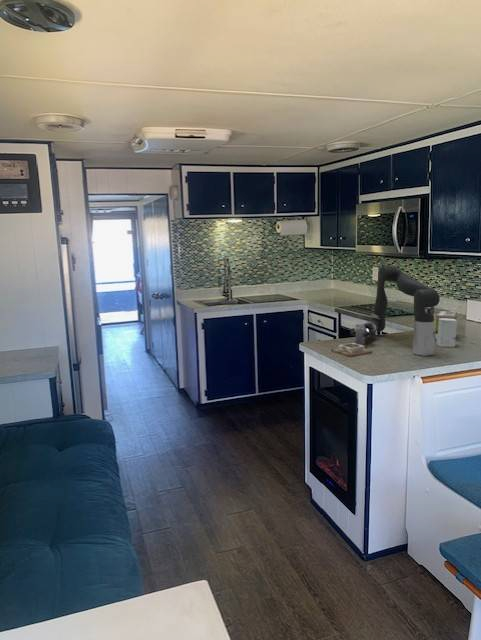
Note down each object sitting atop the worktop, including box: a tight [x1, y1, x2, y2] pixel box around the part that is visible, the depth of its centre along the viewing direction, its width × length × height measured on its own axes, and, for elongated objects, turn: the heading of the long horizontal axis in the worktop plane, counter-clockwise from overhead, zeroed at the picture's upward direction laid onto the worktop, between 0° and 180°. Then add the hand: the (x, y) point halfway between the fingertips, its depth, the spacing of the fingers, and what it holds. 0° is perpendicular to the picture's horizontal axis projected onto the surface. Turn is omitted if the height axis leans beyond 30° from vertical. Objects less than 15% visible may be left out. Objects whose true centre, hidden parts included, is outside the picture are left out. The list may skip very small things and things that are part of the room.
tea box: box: [435, 310, 458, 341], centre depth 277 cm, size 15×10×15 cm, turn 150°
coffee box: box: [425, 306, 435, 317], centre depth 290 cm, size 9×6×16 cm
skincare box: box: [436, 318, 458, 348], centre depth 259 cm, size 8×6×15 cm
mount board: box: [330, 342, 373, 358], centre depth 251 cm, size 15×15×4 cm
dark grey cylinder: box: [354, 323, 366, 347], centre depth 261 cm, size 5×5×12 cm
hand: (358, 334), depth 259 cm, fingers open, 6 cm apart
